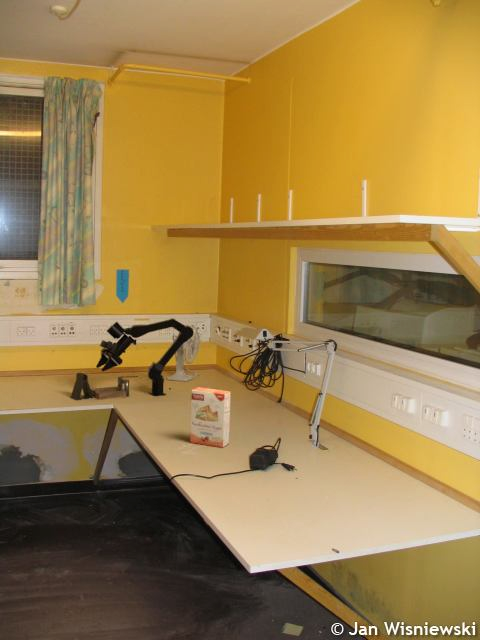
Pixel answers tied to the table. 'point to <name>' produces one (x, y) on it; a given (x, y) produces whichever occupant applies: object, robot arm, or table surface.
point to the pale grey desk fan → (181, 354)
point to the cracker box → (210, 417)
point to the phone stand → (81, 387)
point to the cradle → (112, 390)
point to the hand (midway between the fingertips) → (99, 369)
